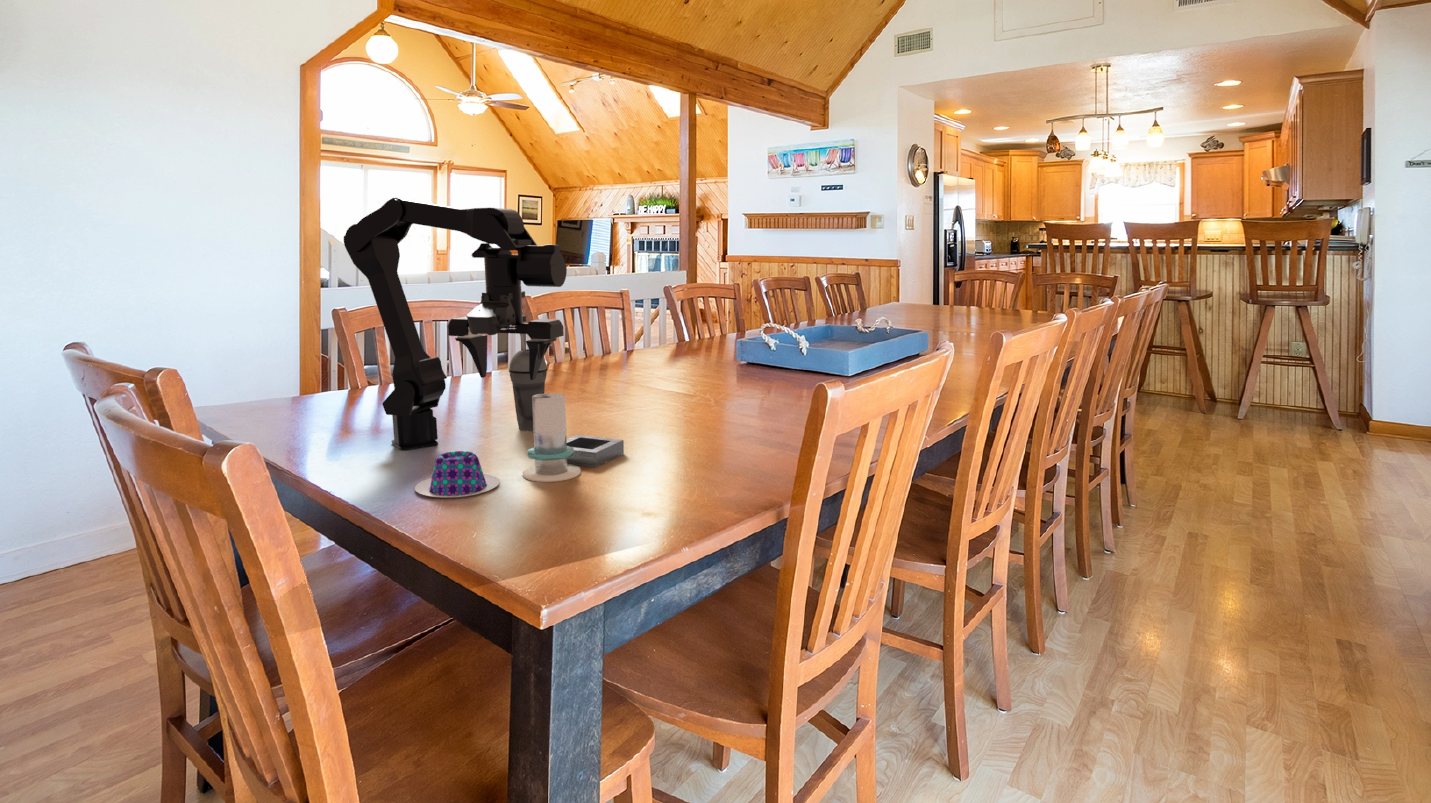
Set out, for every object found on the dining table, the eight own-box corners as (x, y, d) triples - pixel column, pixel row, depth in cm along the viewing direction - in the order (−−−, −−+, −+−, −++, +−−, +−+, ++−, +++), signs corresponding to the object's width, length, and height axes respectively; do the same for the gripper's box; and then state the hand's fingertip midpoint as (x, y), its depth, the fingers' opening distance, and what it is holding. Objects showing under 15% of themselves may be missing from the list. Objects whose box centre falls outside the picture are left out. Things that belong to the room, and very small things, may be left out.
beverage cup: (544, 433, 150) (540, 328, 146) (506, 432, 150) (501, 328, 146) (553, 424, 157) (549, 324, 153) (516, 423, 158) (512, 324, 154)
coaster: (536, 485, 118) (536, 482, 118) (513, 471, 125) (513, 469, 125) (590, 475, 123) (590, 473, 123) (565, 462, 130) (565, 460, 130)
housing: (595, 467, 128) (595, 452, 127) (548, 461, 131) (547, 446, 131) (623, 453, 136) (623, 439, 135) (578, 448, 139) (577, 434, 139)
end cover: (530, 479, 120) (527, 401, 117) (525, 466, 126) (522, 393, 124) (577, 475, 122) (575, 399, 120) (571, 463, 129) (568, 390, 126)
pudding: (505, 476, 124) (503, 444, 123) (493, 500, 112) (491, 465, 111) (425, 478, 122) (423, 445, 121) (405, 503, 111) (403, 467, 109)
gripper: (425, 287, 125) (431, 384, 128) (532, 289, 121) (536, 389, 124) (463, 284, 136) (468, 373, 139) (563, 286, 131) (566, 378, 134)
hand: (507, 378), depth 134 cm, fingers open, 9 cm apart
